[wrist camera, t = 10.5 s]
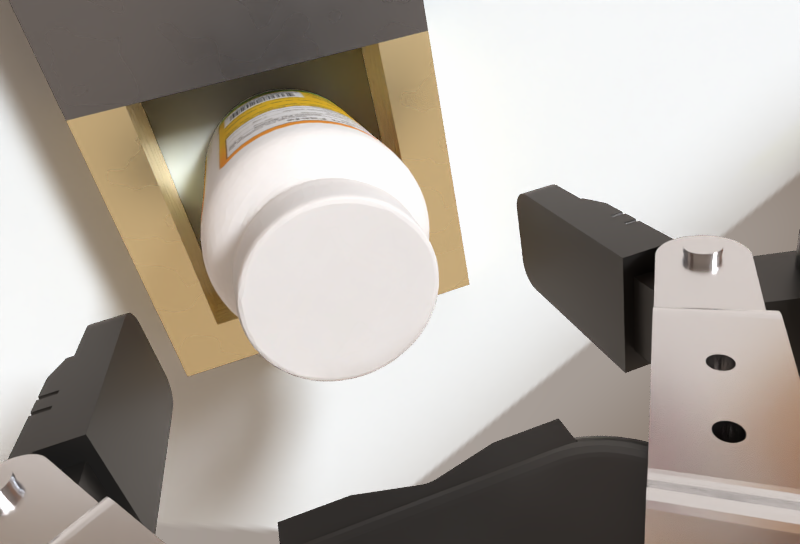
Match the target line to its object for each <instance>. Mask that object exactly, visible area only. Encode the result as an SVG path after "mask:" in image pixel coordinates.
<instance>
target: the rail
mask: <svg viewBox="0 0 800 544" xmlns="http://www.w3.org/2000/svg"><path fill="white" fill-rule="evenodd" d="M9 1H10V4H11V6H12V8H13V10H14V12H15V14H16V16H17V18H18V20H19V23H20V25H21V27H22V29H23V31H24V33H25V35H26V37H27V39H28V42H29V44H30V46H31V48H32V50H33V52H34V54H35V56H36V58H37V60H38V63H39V65H40V67H41V69H42V71H43V73H44V75H45V77H46V79H47V82H48V84H49V86H50V88H51V90H52V92H53V94H54V96H55V98H56V100H57V103H58V105H59V107H60V109H61V111H62V113H63V115H64V117H65V119H66V122H67V124H68V126H69V128H70V130H71V132H72V134H73V136H74V138H75V140H76V143H77V145H78V147H79V149H80V151H81V153H82V155H83V157H84V159H85V162H86V164H87V166H88V168H89V170H90V172H91V174H92V176H93V178H94V180H95V183H96V185H97V187H98V189H99V191H100V193H101V195H102V197H103V199H104V202H105V204H106V206H107V208H108V210H109V212H110V214H111V216H112V218H113V221H114V223H115V225H116V227H117V229H118V231H119V233H120V235H121V237H122V239H123V242H124V244H125V246H126V248H127V250H128V252H129V254H130V256H131V258H132V261H133V263H134V265H135V267H136V269H137V271H138V273H139V275H140V277H141V279H142V282H143V284H144V286H145V288H146V290H147V292H148V294H149V296H150V298H151V301H152V303H153V305H154V307H155V309H156V311H157V313H158V315H159V317H160V319H161V322H162V324H163V326H164V328H165V330H166V332H167V334H168V336H169V338H170V341H171V343H172V345H173V347H174V349H175V351H176V353H177V355H178V357H179V359H180V362H181V364H182V366H183V368H184V370H185V372H186V374H187V376H191V375H194V374H197V373H201V372H204V371H207V370H210V369H213V368H216V367H219V366H222V365H225V364H228V363H231V362H234V361H237V360H240V359H243V358H246V357H249V356H252V355H256V354H259V352H258V351H257V350H256V349H255V348H254V347H253V346H252V344H251V343H250V341H249V340H248V338H247V336H246V335H245V333H244V331H243V329H242V326H241V324H240V321H239V317H237V316H236V315H235V314H234V313H233V312H231V310H230V309H229V308H228V307H227V306H226V305H225V303H224V302H223V301H222V299H221V298H220V297H219V295H218V294H217V292H216V290H215V289H214V287H213V285H212V283H211V281H210V279H209V276H208V274H207V271H206V267H205V264H204V260H203V254H202V251H201V249H200V246H199V244H198V241H197V239H196V236H195V234H194V232H193V229H192V227H191V224H190V222H189V219H188V217H187V214H186V212H185V209H184V207H183V204H182V202H181V200H180V197H179V195H178V192H177V190H176V187H175V185H174V182H173V180H172V177H171V175H170V172H169V170H168V168H167V165H166V163H165V160H164V158H163V155H162V153H161V150H160V148H159V145H158V143H157V141H156V138H155V136H154V133H153V131H152V128H151V126H150V123H149V121H148V118H147V116H146V113H145V111H144V109H143V106H142V104H141V102H143V101H147V100H151V99H155V98H159V97H163V96H167V95H171V94H176V93H180V92H184V91H188V90H192V89H196V88H200V87H204V86H208V85H212V84H216V83H220V82H224V81H228V80H232V79H236V78H240V77H244V76H248V75H252V74H256V73H260V72H264V71H268V70H272V69H276V68H280V67H284V66H288V65H292V64H296V63H300V62H304V61H308V60H312V59H316V58H320V57H324V56H328V55H332V54H336V53H341V52H345V51H349V50H353V49H357V48H361V49H362V53H363V58H364V62H365V67H366V72H367V76H368V81H369V85H370V90H371V95H372V99H373V104H374V108H375V113H376V118H377V122H378V127H379V131H380V136H381V141H382V143H383V144H384V145H385V146H387V147H388V148H389V149H390V150H391V151H392V152H393V153H394V154H395V155H396V156H397V157H398V158H399V159H400V160H401V161H402V162H403V163H404V165H405V166H406V167H407V168H408V169H409V171H410V172H411V174H412V175H413V177H414V178H415V180H416V182H417V184H418V185H419V187H420V189H421V192H422V194H423V197H424V200H425V203H426V207H427V211H428V218H429V241H430V243H431V245H432V247H433V250H434V253H435V255H436V259H437V264H438V271H439V289H438V295H439V294H442V293H445V292H448V291H451V290H454V289H457V288H460V287H463V286H466V285H469V279H468V273H467V267H466V261H465V255H464V249H463V243H462V236H461V230H460V224H459V218H458V212H457V206H456V200H455V194H454V187H453V181H452V175H451V169H450V163H449V157H448V151H447V144H446V138H445V132H444V126H443V120H442V114H441V108H440V101H439V95H438V89H437V83H436V77H435V71H434V65H433V58H432V52H431V46H430V40H429V34H428V28H427V22H426V15H425V9H424V3H423V0H9Z"/></svg>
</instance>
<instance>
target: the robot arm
mask: <svg viewBox="0 0 800 544" xmlns="http://www.w3.org/2000/svg"><path fill="white" fill-rule="evenodd" d="M517 213H518V221H519V230H520V238H521V247H522V256H523V263H524V267H525V271H526V274H527V276H528V278H529V280H530V282H531V284H532V285H533V287H534V288H535V289H536V290H537V291H538V292H539V293H541V294H542V295H543V296H544V297H545V298H546V299H547V300H548V301H549V302H550V303H551V304H552V305H553V306H554V307H555V308H557V309H558V310H559V311H560V312H561V313H562V314H563V315H564V316H565V317H566V318H567V319H568V320H569V321H570V322H572V323H573V324H574V325H575V326H576V327H577V328H578V329H579V330H580V331H581V332H582V333H583V334H584V335H585V336H587V337H588V338H589V339H590V340H591V341H592V342H593V343H594V344H595V345H596V346H597V347H598V348H599V349H600V350H602V351H603V352H604V353H605V354H606V355H607V356H608V357H609V358H610V359H611V360H612V361H613V362H614V363H615V364H617V365H618V366H619V367H620V368H621V369H622V370H623V371H624V372H625V373H626V372H629V371H631V370H634V369H637V368H640V367H643V366H645V365H648V364H651V384H650V414H649V442H646V441H641V440H637V439H630V438H623V437H612V436H589V437H588V436H586V437H576V438H573V436H572V435H571V434H570V433H569V431H568V430H567V429H566V427H565V426H564V425H563V424H562V422H561V421H560V420H559V419H556V420H553V421H551V422H548V423H546V424H543V425H540V426H537V427H535V428H532V429H529V430H526V431H524V432H521V433H518V434H516V435H513V436H511V437H508V438H505V439H502V440H499V441H497V442H494V443H492V444H491V445H489V446H488V447H486V448H484V449H483V450H481V451H480V452H478V453H477V454H475V455H474V456H472V457H470V458H469V459H467V460H466V461H464V462H463V463H461V464H459V465H458V466H456V467H455V468H453V469H452V470H450V471H448V472H447V473H445V474H444V475H442V476H441V477H439V478H438V479H436V480H434V481H432V482H430V483H427V484H423V485H417V486H410V487H403V488H397V489H390V490H384V491H377V492H370V493H364V494H357V495H351V496H348V497H345V498H342V499H340V500H337V501H334V502H332V503H329V504H326V505H323V506H321V507H318V508H315V509H313V510H310V511H307V512H305V513H302V514H299V515H296V516H294V517H291V518H288V519H286V520H283V521H280V522H278V530H279V541H280V544H800V231H799V238H798V245H797V251H790V252H783V253H775V254H767V255H760V256H753V255H752V253H751V251H750V250H749V249H748V248H747V247H746V246H745V245H743V244H741V243H739V242H737V241H734V240H732V239H728V238H724V237H718V236H709V235H695V236H685V237H680V238H676V239H672V238H670V237H668V236H666V235H665V234H663V233H661V232H659V231H657V230H655V229H653V228H651V227H650V226H648V225H646V224H644V223H642V222H640V221H637V222H636V219H635V218H633V217H631V216H629V215H627V214H623V213H622V212H621V211H620V210H618V209H616V208H614V207H612V206H610V205H608V204H606V203H602V202H598V201H593V200H588V199H580V198H578V197H576V196H575V195H573V194H571V193H569V192H567V191H566V190H564V189H562V188H560V187H558V186H557V185H549V186H546V187H543V188H540V189H536V190H533V191H530V192H526V193H523V194H520V195H519V197H518V199H517ZM38 397H39V400H36V402H35V404H34V406H33V409H32V411H31V416H29V417H28V419H27V421H26V423H25V425H24V427H23V429H22V431H21V433H20V435H19V437H18V440H17V442H16V444H15V446H14V448H13V450H12V452H11V454H10V456H9V458H8V460H6V461H3V462H1V463H0V544H165V543H164V542H163V541H162V540H160V539H159V538H158V537H157V536H156V535H155V531H156V524H157V517H158V510H159V503H160V496H161V489H162V481H163V474H164V467H165V460H166V453H167V446H168V438H169V431H170V424H171V417H172V410H173V399H172V393H171V389H170V385H169V382H168V380H167V377H166V375H165V373H164V371H163V369H162V367H161V365H160V363H159V361H158V359H157V357H156V355H155V353H154V351H153V349H152V347H151V345H150V343H149V341H148V339H147V337H146V335H145V333H144V331H143V330H142V328H141V326H140V324H139V322H138V320H137V319H136V318H135V316H134V315H132V314H131V313H127V314H123V315H120V316H117V317H114V318H110V319H107V320H104V321H100V322H97V323H94V324H91V325H89V326H87V328H86V330H85V333H84V335H83V337H82V339H81V342H80V344H79V346H78V349H77V351H76V353H75V355H74V356H72V357H69V358H66V359H65V360H64V361H63V362H62V363H61V365H60V366H59V367H58V368H57V369H56V370H55V371H54V372H53V373H52V374H51V375H50V376H49V377H48V378H47V380H46V382H45V384H44V386H43V388H42V390H41V392H40V394H39V396H38Z"/></svg>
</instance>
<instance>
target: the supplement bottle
mask: <svg viewBox="0 0 800 544" xmlns="http://www.w3.org/2000/svg"><path fill="white" fill-rule="evenodd" d="M201 246H202V254H203V260H204V264H205V267H206V271H207V274H208V276H209V279H210V281H211V283H212V285H213V287H214V289H215V290H216V292H217V294H218V295H219V297H220V298H221V299H222V301H223V302H224V303H225V305H226V306H227V307H228V308H229V309H230V310H231V312H233V313H234V314H235V315H236V316H237V317H239V321H240V324H241V326H242V329H243V331H244V333H245V335H246V336H247V338H248V340H249V341H250V343H251V344H252V346H253V347H254V348H255V349H256V350H257V351H258V352H259V354H260V355H261V356H262V357H263V358H265V359H266V360H267V361H268V362H270V363H271V364H272V365H274V366H275V367H277V368H279V369H281V370H283V371H285V372H287V373H289V374H291V375H294V376H297V377H301V378H304V379H310V380H316V381H340V380H346V379H352V378H357V377H360V376H363V375H366V374H369V373H371V372H374V371H376V370H378V369H380V368H382V367H384V366H386V365H387V364H389V363H391V362H392V361H394V360H395V359H396V358H398V357H399V356H400V355H401V354H403V353H404V352H405V351H406V350H407V349H408V348H409V347H410V346H411V345H412V344H413V343H414V342H415V341H416V340H417V338H418V337H419V335H420V334H421V333H422V331H423V330H424V329H425V327H426V325H427V323H428V321H429V319H430V317H431V315H432V312H433V310H434V307H435V304H436V300H437V295H438V289H439V271H438V264H437V259H436V255H435V253H434V250H433V247H432V245H431V243H430V241H429V218H428V211H427V207H426V203H425V200H424V197H423V194H422V192H421V189H420V187H419V185H418V184H417V182H416V180H415V178H414V177H413V175H412V174H411V172H410V171H409V169H408V168H407V167H406V166H405V165H404V163H403V162H402V161H401V160H400V159H399V158H398V157H397V156H396V155H395V154H394V153H393V152H392V151H391V150H390V149H389V148H388V147H387V146H385V145H384V144H383V143H382V142H380V141H379V140H378V139H377V138H375V137H374V136H373V135H372V134H370V133H369V132H368V131H367V130H366V129H365V128H363V127H362V126H361V125H360V124H359V123H357V122H356V121H355V120H354V119H353V118H352V117H350V116H349V115H348V114H347V113H346V112H345V111H343V110H342V109H341V108H340V107H338V106H337V105H335V104H334V103H332V102H331V101H329V100H328V99H326V98H324V97H322V96H320V95H317V94H315V93H312V92H308V91H304V90H297V89H276V90H269V91H265V92H261V93H258V94H256V95H253V96H251V97H249V98H247V99H245V100H244V101H242V102H241V103H239V104H238V105H237V106H235V107H234V108H233V109H232V110H231V111H229V113H228V114H227V115H226V116H225V117H224V118H223V119H222V121H221V122H220V123H219V125H218V126H217V128H216V130H215V131H214V134H213V136H212V138H211V141H210V144H209V147H208V151H207V156H206V162H205V176H204V191H203V203H202V213H201Z"/></svg>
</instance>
